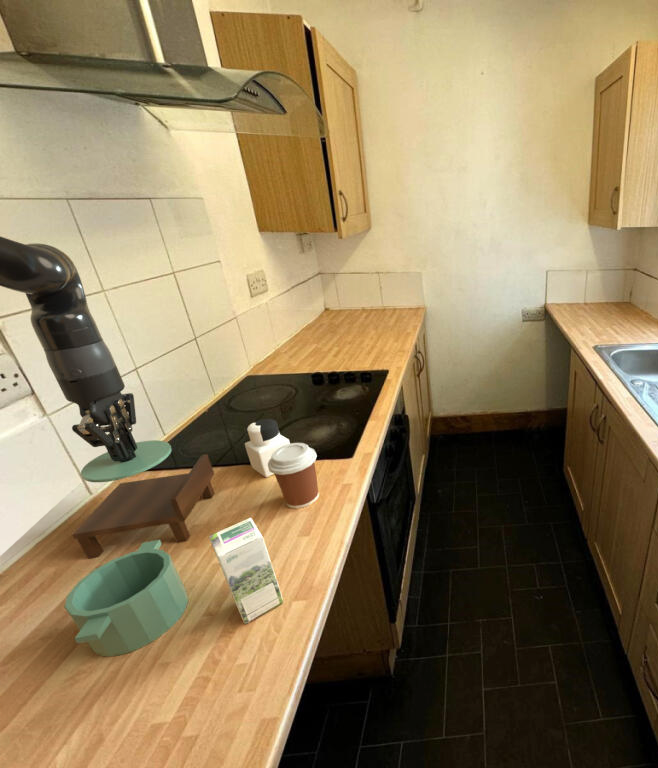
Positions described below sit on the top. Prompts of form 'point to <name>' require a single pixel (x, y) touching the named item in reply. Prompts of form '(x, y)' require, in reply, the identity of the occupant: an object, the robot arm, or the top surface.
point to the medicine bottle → (263, 444)
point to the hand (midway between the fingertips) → (125, 455)
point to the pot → (128, 601)
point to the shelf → (147, 506)
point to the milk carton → (247, 569)
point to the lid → (134, 464)
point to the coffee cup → (295, 473)
